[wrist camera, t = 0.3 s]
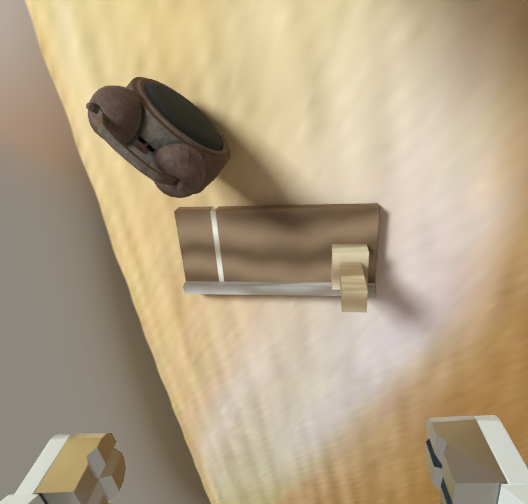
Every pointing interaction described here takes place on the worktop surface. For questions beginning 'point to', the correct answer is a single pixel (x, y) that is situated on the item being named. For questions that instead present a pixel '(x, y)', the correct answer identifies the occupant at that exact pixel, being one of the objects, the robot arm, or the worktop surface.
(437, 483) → the robot arm
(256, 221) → the walnut board
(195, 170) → the alarm clock
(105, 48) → the worktop surface
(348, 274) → the stacked beige blocks
